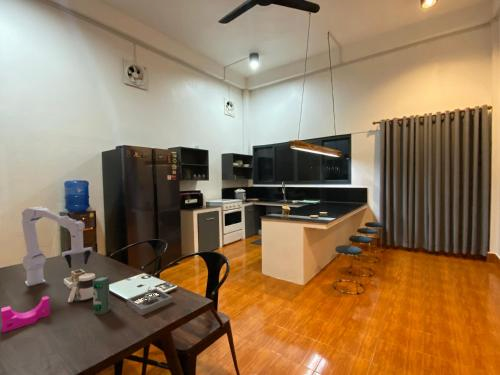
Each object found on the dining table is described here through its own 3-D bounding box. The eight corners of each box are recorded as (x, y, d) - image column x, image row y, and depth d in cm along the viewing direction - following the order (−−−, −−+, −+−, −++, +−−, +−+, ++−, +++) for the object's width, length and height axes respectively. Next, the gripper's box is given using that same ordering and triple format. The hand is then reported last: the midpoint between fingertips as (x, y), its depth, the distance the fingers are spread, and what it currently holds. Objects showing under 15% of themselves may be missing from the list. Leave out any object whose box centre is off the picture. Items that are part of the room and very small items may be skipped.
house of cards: (138, 311, 113) (138, 295, 113) (137, 303, 121) (137, 287, 121) (159, 306, 117) (159, 290, 117) (157, 299, 125) (156, 283, 125)
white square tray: (64, 283, 145) (63, 278, 145) (86, 277, 153) (86, 273, 153) (69, 289, 137) (69, 284, 137) (93, 282, 146) (93, 277, 146)
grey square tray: (126, 305, 119) (126, 299, 119) (156, 294, 130) (156, 288, 130) (142, 316, 109) (141, 309, 109) (172, 303, 121) (172, 296, 120)
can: (93, 310, 115) (92, 277, 114) (108, 306, 118) (107, 274, 118) (94, 316, 110) (93, 282, 109) (110, 311, 113) (109, 278, 113)
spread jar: (101, 297, 127) (100, 274, 127) (77, 307, 117) (76, 283, 117) (87, 292, 133) (86, 270, 133) (63, 301, 123) (62, 278, 123)
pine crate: (71, 281, 146) (71, 271, 146) (81, 279, 150) (81, 269, 149) (75, 284, 141) (74, 274, 141) (85, 282, 145) (85, 271, 145)
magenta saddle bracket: (2, 332, 99) (1, 313, 99) (1, 326, 103) (1, 308, 103) (50, 317, 110) (50, 300, 109) (48, 312, 114) (47, 295, 114)
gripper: (63, 246, 137) (64, 270, 138) (93, 241, 148) (94, 263, 149) (60, 244, 142) (61, 267, 142) (89, 239, 153) (90, 261, 153)
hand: (78, 265), depth 146 cm, fingers open, 7 cm apart
